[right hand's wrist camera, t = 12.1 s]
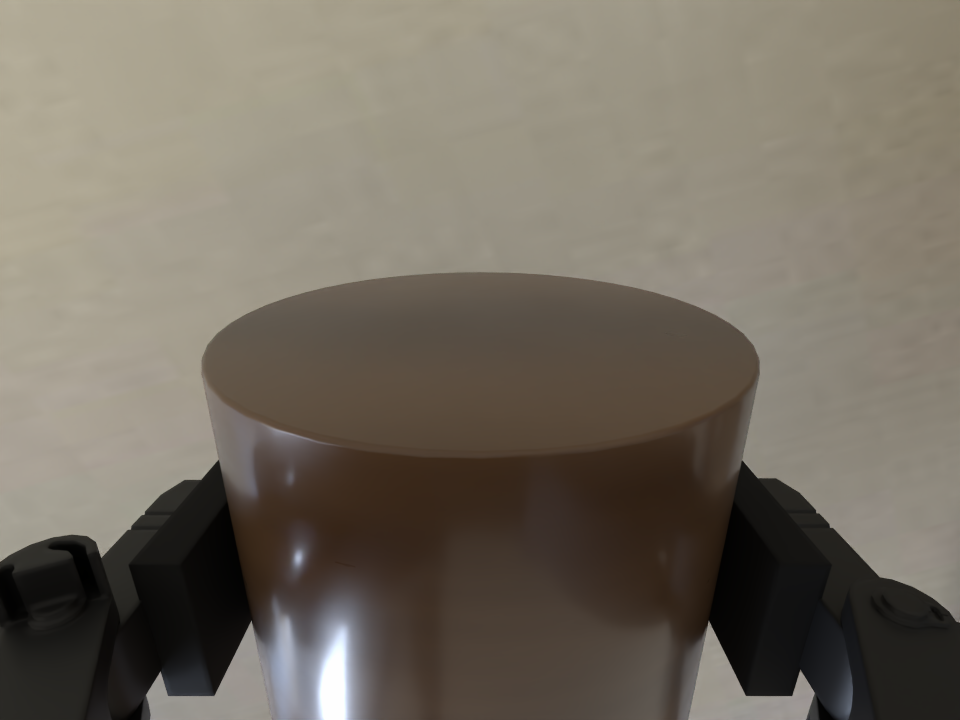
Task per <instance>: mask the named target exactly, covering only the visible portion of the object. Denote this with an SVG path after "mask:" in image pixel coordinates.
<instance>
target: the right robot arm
mask: <svg viewBox="0 0 960 720" xmlns="http://www.w3.org/2000/svg"><path fill="white" fill-rule="evenodd" d="M251 620H252V619H251V614H250V609H249V605H248V600H247V595H246V590H245V585H244V580H243V575H242V570H241V565H240V560H239V555H238V551H237V546H236V541H235V536H234V531H233V526H232V521H231V516H230V511H229V506H228V501H227V496H226V492H225V487H224V482H223V477H222V472H221V467H220V462H219V460H218V461H217V462H216V464H215V465H214V466H213V467H212V468H211V469H210V470H209V472H208V473H207V474H206V475H205V476H204V477H203V479H202V480H184V481H182V482H181V483H179V484H178V485H176V486H174V487H173V488H171V489H170V490H168V491H166V492H165V493H163V494H162V495H160V496H159V498H158V499H157V500H156V501H155V502H154V503H153V504H152V505H151V506H150V507H149V508H148V509H147V510H146V511H145V515H142V516H141V517H140V518H139V519H138V520H137V521H136V522H135V523H134V524H133V525H132V528H131V530H127V531H126V533H125V534H124V535H123V536H122V537H121V538H120V539H119V540H118V541H117V542H116V543H115V544H114V545H113V546H112V547H111V548H110V549H109V551H108V552H107V553H106V554H105V555H104V556H103V557H102V558H101V556H100V553H99V550H98V547H97V544H96V542H95V541H93V540H92V539H90V538H89V537H87V536H79V535H67V536H60V537H53V538H50V539H47V540H44V541H41V542H38V543H35V544H31V545H29V546H27V547H25V548H23V549H21V550H19V551H17V552H15V553H13V554H11V555H9V556H8V557H7V558H5V559H4V560H2V561H1V562H0V720H150V710H149V704H148V700H147V697H146V694H147V692H148V691H149V689H150V687H151V686H152V684H153V683H154V681H155V679H156V678H157V676H158V674H159V673H160V671H161V674H162V677H163V680H164V684H165V687H166V690H167V693H168V696H214V695H215V693H216V691H217V689H218V687H219V685H220V683H221V681H222V679H223V677H224V675H225V673H226V671H227V669H228V667H229V665H230V663H231V661H232V659H233V657H234V655H235V653H236V651H237V649H238V647H239V645H240V643H241V641H242V639H243V637H244V635H245V632H246V630H247V628H248V626H249V624H250V622H251ZM709 622H710V624H711V626H712V628H713V630H714V632H715V634H716V636H717V638H718V640H719V642H720V644H721V646H722V648H723V650H724V652H725V654H726V656H727V658H728V660H729V662H730V664H731V666H732V668H733V670H734V672H735V674H736V676H737V678H738V680H739V683H740V685H741V687H742V689H743V691H744V693H745V695H746V696H792V695H793V691H794V688H795V685H796V682H797V678H798V675H799V672H800V670H801V671H802V673H803V674H804V676H805V678H806V679H807V681H808V682H809V684H810V686H811V687H812V689H813V690H814V692H815V694H814V697H813V700H812V704H811V707H810V710H809V713H808V716H807V719H806V720H960V623H958V622H956V621H955V619H954V618H953V617H952V615H951V614H950V612H949V611H947V610H946V609H945V608H944V607H943V606H941V605H940V604H939V603H938V602H937V601H935V600H934V599H933V598H931V597H930V596H928V595H926V594H924V593H923V592H921V591H919V590H917V589H915V588H914V587H911V586H909V585H906V584H903V583H900V582H898V581H895V580H892V579H886V578H880V577H879V576H878V575H877V574H876V573H875V572H874V571H873V570H872V569H871V568H870V567H869V566H868V564H867V563H866V562H865V561H864V560H863V559H862V558H861V557H860V556H859V555H858V554H857V553H856V552H855V551H854V550H853V549H852V548H851V547H850V545H849V544H848V543H847V542H846V541H845V540H844V539H843V538H842V537H841V536H840V535H839V534H838V533H837V532H836V531H835V530H834V529H833V528H830V526H829V523H828V522H827V521H826V520H825V519H824V518H823V517H822V516H821V515H820V514H817V513H816V510H815V509H814V508H813V507H812V505H811V504H810V503H809V502H808V501H807V500H806V499H805V498H804V497H803V496H802V495H801V494H800V493H799V492H797V491H796V490H794V489H792V488H791V487H789V486H787V485H786V484H784V483H783V482H781V481H779V480H778V479H776V478H757V477H756V476H755V475H754V474H753V472H752V471H751V470H750V469H749V468H748V467H747V465H746V464H745V463H744V462H743V461H742V462H741V466H740V471H739V476H738V481H737V486H736V491H735V495H734V500H733V505H732V510H731V515H730V520H729V525H728V529H727V534H726V539H725V544H724V549H723V554H722V558H721V563H720V568H719V573H718V578H717V583H716V587H715V592H714V597H713V602H712V607H711V612H710V616H709Z"/></svg>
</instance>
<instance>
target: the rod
mask: <svg viewBox="0 0 960 720" xmlns="http://www.w3.org/2000/svg"><path fill="white" fill-rule="evenodd" d="M759 375H760V366H759V357H758V355H757V353H756V351H755V348H754V346H753V344H752V343H751V342H750V341H749V340H748V339H747V337H746V336H745V335H744V334H743V333H742V332H740V331H739V330H738V329H736V328H735V327H734V326H733V325H731V324H730V323H728V322H726V321H725V320H723V319H721V318H719V317H718V316H716V315H714V314H712V313H710V312H707V311H705V310H703V309H701V308H699V307H696V306H694V305H691V304H688V303H685V302H683V301H680V300H677V299H674V298H671V297H667V296H664V295H661V294H657V293H653V292H649V291H645V290H641V289H637V288H632V287H627V286H622V285H617V284H612V283H606V282H600V281H594V280H586V279H578V278H571V277H561V276H550V275H537V274H520V273H483V272H477V273H438V274H422V275H409V276H398V277H388V278H380V279H373V280H365V281H359V282H353V283H347V284H342V285H337V286H332V287H327V288H322V289H318V290H314V291H310V292H306V293H302V294H299V295H295V296H292V297H289V298H285V299H282V300H280V301H277V302H274V303H271V304H269V305H266V306H263V307H261V308H259V309H257V310H254V311H252V312H250V313H248V314H246V315H244V316H242V317H241V318H239V319H237V320H235V321H234V322H232V323H230V324H229V325H228V326H226V327H225V328H224V329H222V330H221V331H220V332H219V333H217V334H216V336H215V337H214V338H213V339H212V340H211V341H210V343H209V344H208V345H207V348H206V350H205V352H204V354H203V357H202V378H203V383H204V388H205V393H206V398H207V403H208V408H209V413H210V418H211V423H212V428H213V433H214V437H215V442H216V447H217V452H218V457H219V462H220V467H221V472H222V477H223V482H224V487H225V492H226V496H227V501H228V506H229V511H230V516H231V521H232V526H233V531H234V536H235V541H236V546H237V551H238V555H239V560H240V565H241V570H242V575H243V580H244V585H245V590H246V595H247V600H248V605H249V609H250V614H251V619H252V624H253V629H254V634H255V639H256V644H257V649H258V654H259V659H260V664H261V668H262V673H263V678H264V683H265V688H266V693H267V698H268V703H269V708H270V713H271V718H272V720H688V718H689V713H690V708H691V703H692V699H693V694H694V689H695V684H696V679H697V674H698V670H699V665H700V660H701V655H702V650H703V645H704V641H705V636H706V631H707V626H708V621H709V616H710V612H711V607H712V602H713V597H714V592H715V587H716V583H717V578H718V573H719V568H720V563H721V558H722V554H723V549H724V544H725V539H726V534H727V529H728V525H729V520H730V515H731V510H732V505H733V500H734V495H735V491H736V486H737V481H738V476H739V471H740V466H741V462H742V457H743V452H744V447H745V442H746V437H747V433H748V428H749V423H750V418H751V413H752V408H753V404H754V399H755V394H756V389H757V384H758V379H759Z"/></svg>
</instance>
